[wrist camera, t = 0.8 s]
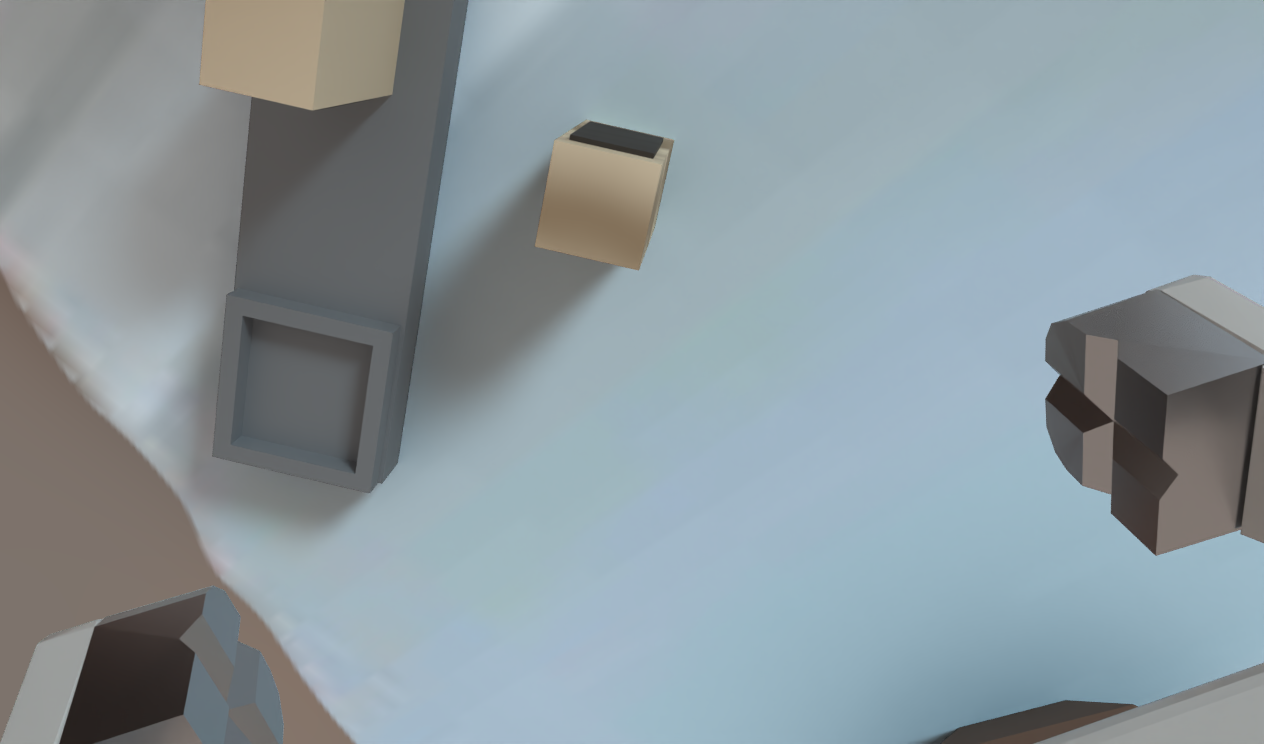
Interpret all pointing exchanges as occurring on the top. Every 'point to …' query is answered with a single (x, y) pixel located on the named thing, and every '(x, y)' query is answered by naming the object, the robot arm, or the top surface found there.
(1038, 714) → the brown cauldron
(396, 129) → the grey block holder
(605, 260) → the block
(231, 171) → the top surface
